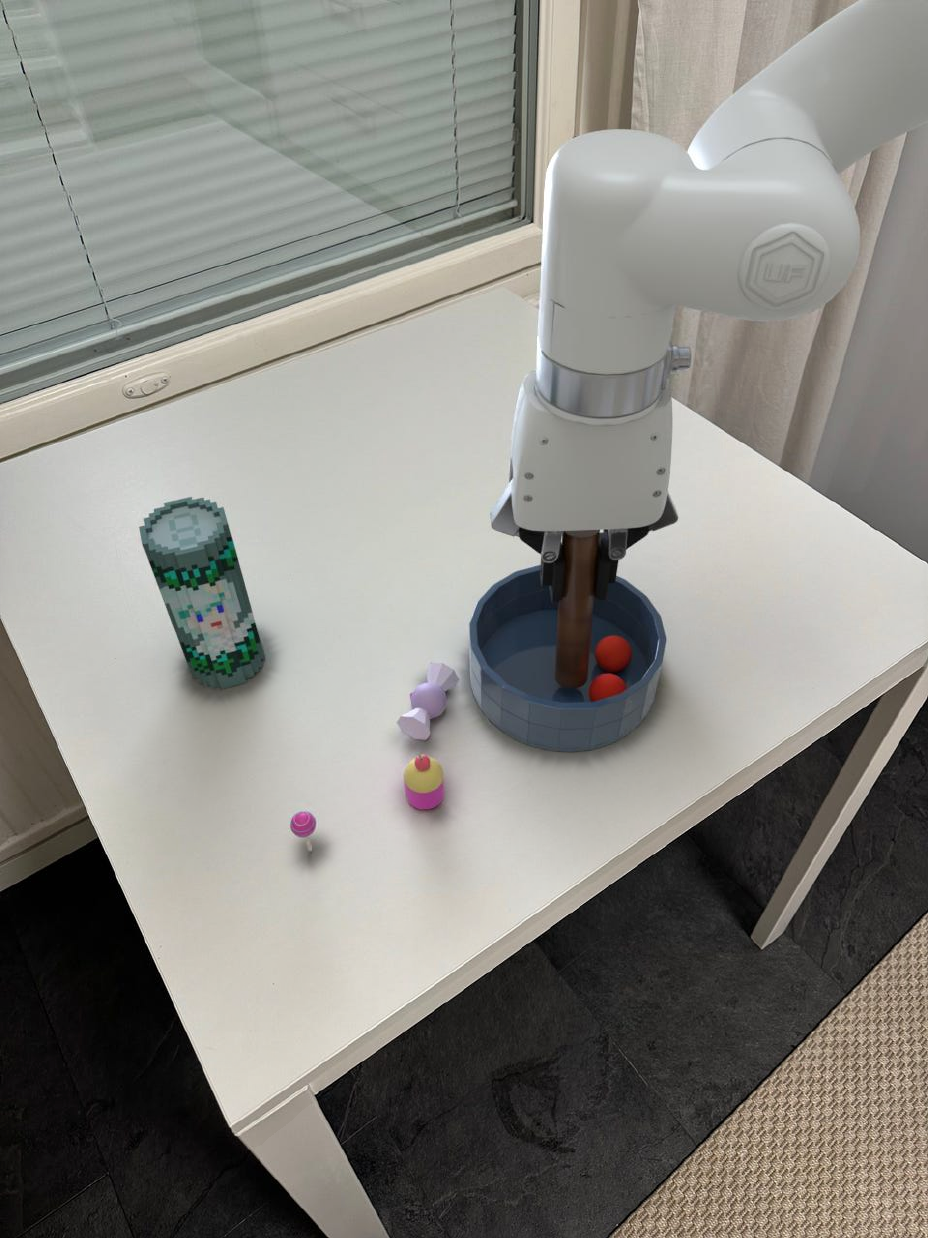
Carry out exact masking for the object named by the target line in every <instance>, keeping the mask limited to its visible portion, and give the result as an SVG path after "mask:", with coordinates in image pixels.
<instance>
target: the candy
mask: <svg viewBox="0 0 928 1238" xmlns="http://www.w3.org/2000/svg"><path fill="white" fill-rule="evenodd" d="M426 677H427V682H423V683H420V684H419V685H417V686H416V687H415V688H414V689H413V691H412V692H411V693H409V698H410V700H409V701H410V707H411V710H409V711H407V712H406V713H404V714H402V715H400V717H399V718H398V720H397V721H396V724H397V725H398V727H399V729H400V731H401V732H402V733H404V734H405V735H407V736H409V737H411V738H412V739H414V740H425V741H426V740H427V739H428V738H429V737H430V735H431V720H432V719H435V718H437V717H439V716H440V715H442V713H443V712H444V711H445V709H446V707H447V703H448V702H447V701H448V698H447V694H446V692H447V691H448V690H450V689H452V688H454V687H455V686H456V685H457V684H458V682H459V681H460V678H459V675H458V674H457V673H456V671H455V669H453V668H451V666H448V665H446V664H445V663H443V662H431V663H430V664H429V666H428V667H427V669H426ZM441 765H442V764H440V763H439V761H437V759H435V758H434V757H431V756H428V755H426V754H421V753H420V752H417V756H416V757H415V758H413V759H411V760H410V761H409V762H408V763H407V765H406V766H405V768H404V772H403V783H404V791H405V798H406V800H407V802H408V803H409V804H410V805H411V806H412V807H414V808H415V809H419V810H430V809H432V808H435V807H437V806H438V805H439V804H441V802H442V800H443V799H444V797H445V785H444V784H445V780H444V771H443V770H444V769H443V768H442V766H441ZM316 826H317V819H316V817H315V816H314V815H313V813H311V812H310V811H308V810H301V811H298V812H295V814H294V815H292V817H291V818H290V822H289V829H290V832H291V833H293V834H294V835H295V836H296V837H297V838H304V839H305V843H306V846H307V850H308V852H310V853H311V852H313V849H314V848H313V846H312V842H311V839H310V837H311V835H312V834H314V832H315V831H316Z"/></svg>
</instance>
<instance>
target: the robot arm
mask: <svg viewBox="0 0 928 1238" xmlns="http://www.w3.org/2000/svg"><path fill="white" fill-rule="evenodd" d="M927 124H928V0H858V1H856V2H854V3H853V4H851V5H849V6H848V7H846V8H844V9H843V10H841V11H839V12H838V13H837V14H835V15H834V16H832V17H830V18H829V19H827V20H826V21H825V22H823V23H822V24H821V25H819V26H818V27H816V28H815V29H814V30H812V31H811V32H809V33H808V34H807V35H805V36H804V37H803V38H802V39H800V40H799V41H798V42H796V43H795V44H793V45H792V46H791V47H790V48H789V49H788V50H786V51H785V52H783V54H781V55H780V56H779V57H777V58H776V59H775V60H774V61H772V62H771V63H769V64H768V65H767V66H766V67H765V68H763V69H761V71H759V72H758V73H757V74H756V75H754V76H753V77H752V78H751V79H749V80H748V81H747V82H745V83H744V84H743V85H742V86H740V88H739V89H737V90H736V91H735V92H733V94H731V95H730V96H729V97H728V98H727V99H725V101H723V103H721V104H720V105H719V106H718V107H717V108H716V109H715V110H714V111H713V113H711V115H710V116H709V117H708V118H707V120H706V121H705V122H704V123H703V124H702V126H701V127H700V128H699V129H698V131H697V132H696V134H695V136H694V138H693V139H692V141H691V143H690V145H688V146H689V147H688V149H687V150H686V149H685V147H683V146H682V145H681V144H679V143H678V142H677V141H675V140H673V139H671V138H669V137H667V136H664V135H661V134H657V133H654V132H650V131H644V130H641V129H640V130H638V129H629V128H628V129H627V128H614V129H613V128H611V129H602V130H601V129H600V130H596V131H591V132H586V133H583V134H580V135H577V136H575V137H573V138H571V139H569V140H568V141H566V142H564V143H563V144H562V145H561V146H560V147H558V149H557V150H556V152H554V154H553V156H552V158H551V160H550V163H549V165H548V167H547V171H546V175H545V183H544V184H545V185H544V186H545V187H544V195H543V196H544V201H543V220H542V221H543V222H542V242H541V243H542V244H541V261H540V262H541V263H540V284H539V285H540V286H539V303H538V307H539V308H538V325H537V339H536V340H537V341H536V342H537V343H536V360H535V361H536V364H535V370H532V371H530V372H528V373H527V374H526V375H524V378H523V380H522V384H521V386H520V390H519V394H518V397H517V401H516V407H515V411H514V412H515V413H514V418H513V424H512V431H511V440H510V451H509V466H508V485H507V486H506V487H505V489H504V490H503V492H502V494H501V495H500V497H499V499H498V500H497V501H496V503H495V505H494V507H493V508H492V509H491V511H490V514H489V515H490V526H491V529H492V530H493V531H495V532H499V533H502V534H505V535H508V536H511V537H514V538H515V537H517V538H519V540H520V541H521V542H523V543H524V544H525V545H527V546H528V547H529V548H531V549H532V550H534V551H535V552H536V553H538V554H539V555H540V564H539V565H540V579H541V586H549V587H550V594H551V601H552V603H554V602H559V600H562V592H563V581H564V571H565V562H564V556H563V551H562V532H563V531H579V530H600V531H602V532H600V535H599V547H598V558H597V569H596V581H595V593H594V594H595V599H598V601H606V596H607V589H608V584H614V583H615V581H616V576H617V575H618V574H617V573H618V567H619V561H621V560H622V559H624V558H625V557H626V555H627V550H628V549H630V548H631V547H633V546H634V545H636V544H637V543H638V542H640V541H641V540H642V539H644V538H645V537H647V536H648V534H649V533H650V532H656V531H658V530H661V529H663V528H666V527H669V526H671V525H675V524H676V523H677V522H678V521H679V514H678V511H677V508H676V505H675V503H674V501H673V498H672V495H671V493H670V491H669V484H670V476H671V466H672V465H671V463H672V447H673V400H672V390H671V383H670V380H669V378H670V376H671V374H675V373H678V371H689V370H690V368H691V365H692V349H691V347H690V346H678V344H672V341H671V337H672V332H673V327H674V320H675V315H676V314H675V313H676V308H677V307H681V308H686V309H691V310H695V311H699V312H700V311H701V312H705V313H709V314H713V315H717V316H720V317H721V316H722V317H726V318H731V319H736V320H740V321H741V320H742V321H747V322H748V321H749V322H758V323H770V322H771V323H775V322H784V321H789V320H795V319H799V318H802V317H804V316H806V315H809V314H811V313H813V312H815V311H817V310H819V309H820V308H822V307H823V306H825V305H826V304H827V303H829V302H830V301H831V300H833V299H834V298H835V297H836V295H838V294H839V292H840V291H841V290H842V289H843V287H844V286H845V285H846V284H847V282H848V281H849V279H850V277H851V276H852V274H853V272H854V270H855V267H856V264H857V261H858V257H859V254H860V247H861V227H860V222H859V217H858V214H857V211H856V207H855V204H854V202H853V200H852V197H851V195H850V194H849V192H848V190H847V188H846V186H845V184H844V182H843V181H842V179H841V177H840V174H841V173H843V172H844V171H845V170H847V169H848V168H850V167H851V166H853V165H854V164H855V163H857V162H858V161H860V160H861V159H863V158H865V157H866V156H868V155H869V154H870V153H872V152H874V151H875V150H877V149H879V148H880V147H882V146H884V145H886V144H887V143H889V142H891V141H893V140H895V139H896V138H898V137H900V136H902V135H904V134H906V133H908V132H910V131H913V130H915V129H917V128H919V127H922V126H925V125H927Z"/></svg>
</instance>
